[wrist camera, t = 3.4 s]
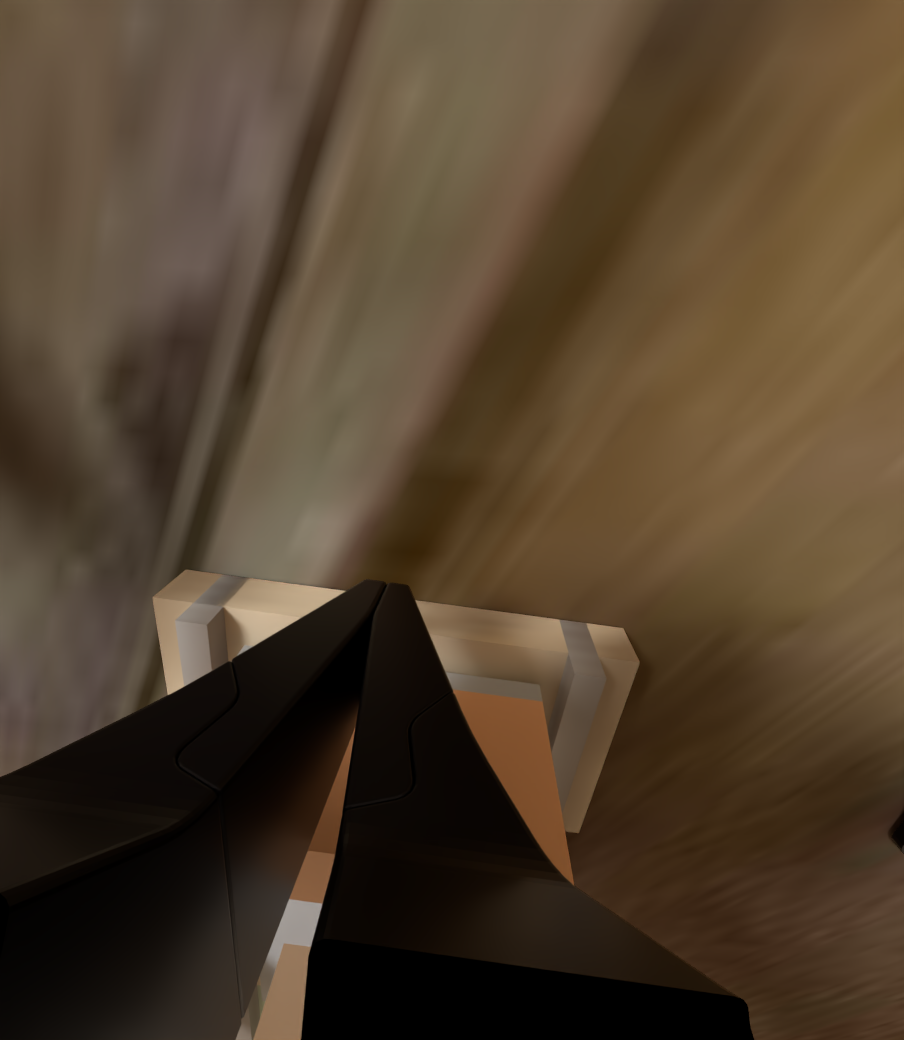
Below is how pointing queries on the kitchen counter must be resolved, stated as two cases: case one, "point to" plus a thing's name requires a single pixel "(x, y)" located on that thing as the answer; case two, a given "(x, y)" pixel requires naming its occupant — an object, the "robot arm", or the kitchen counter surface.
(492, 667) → the track deck
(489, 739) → the sled
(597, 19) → the kitchen counter surface
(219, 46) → the kitchen counter surface
